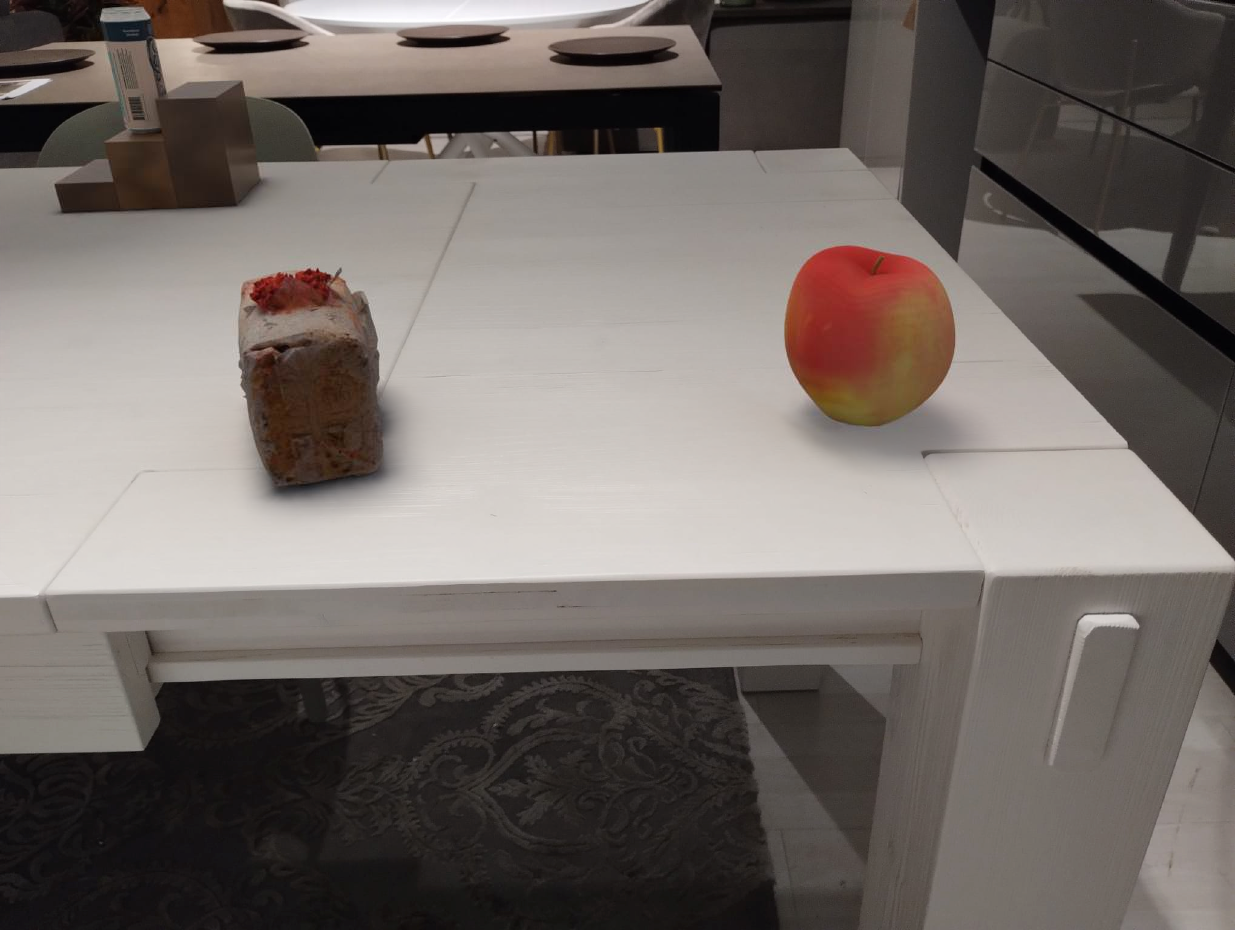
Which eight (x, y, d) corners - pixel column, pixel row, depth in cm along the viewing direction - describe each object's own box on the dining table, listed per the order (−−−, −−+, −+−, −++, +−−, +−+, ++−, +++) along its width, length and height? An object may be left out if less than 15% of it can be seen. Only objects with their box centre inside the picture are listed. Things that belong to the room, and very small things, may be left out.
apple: (770, 445, 58) (781, 276, 53) (784, 379, 66) (795, 227, 61) (945, 461, 56) (973, 287, 51) (937, 390, 64) (961, 235, 59)
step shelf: (61, 212, 107) (30, 103, 101) (101, 185, 117) (75, 85, 112) (236, 205, 108) (215, 97, 103) (260, 179, 118) (242, 80, 113)
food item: (249, 397, 65) (218, 246, 60) (375, 378, 67) (354, 231, 62) (259, 498, 54) (221, 322, 49) (410, 471, 56) (388, 300, 51)
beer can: (182, 129, 109) (156, 7, 103) (138, 136, 106) (109, 11, 100) (162, 124, 112) (135, 5, 106) (119, 130, 109) (89, 9, 103)
